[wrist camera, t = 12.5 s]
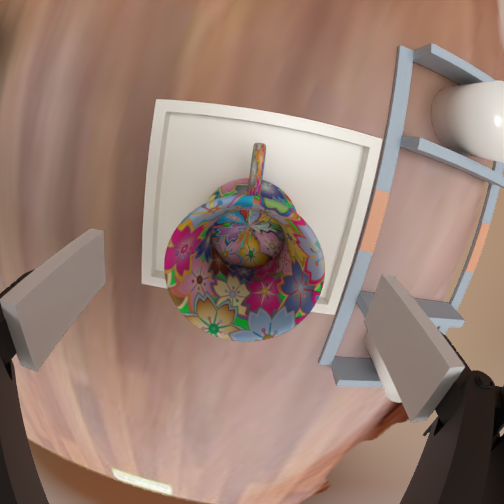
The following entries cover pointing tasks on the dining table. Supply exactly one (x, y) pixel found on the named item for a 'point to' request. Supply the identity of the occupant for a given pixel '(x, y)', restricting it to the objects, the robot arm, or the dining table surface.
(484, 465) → the robot arm
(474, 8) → the dining table surface
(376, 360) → the white rounded egg
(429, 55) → the rack
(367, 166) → the tray
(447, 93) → the white glossy dome
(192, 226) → the mug
